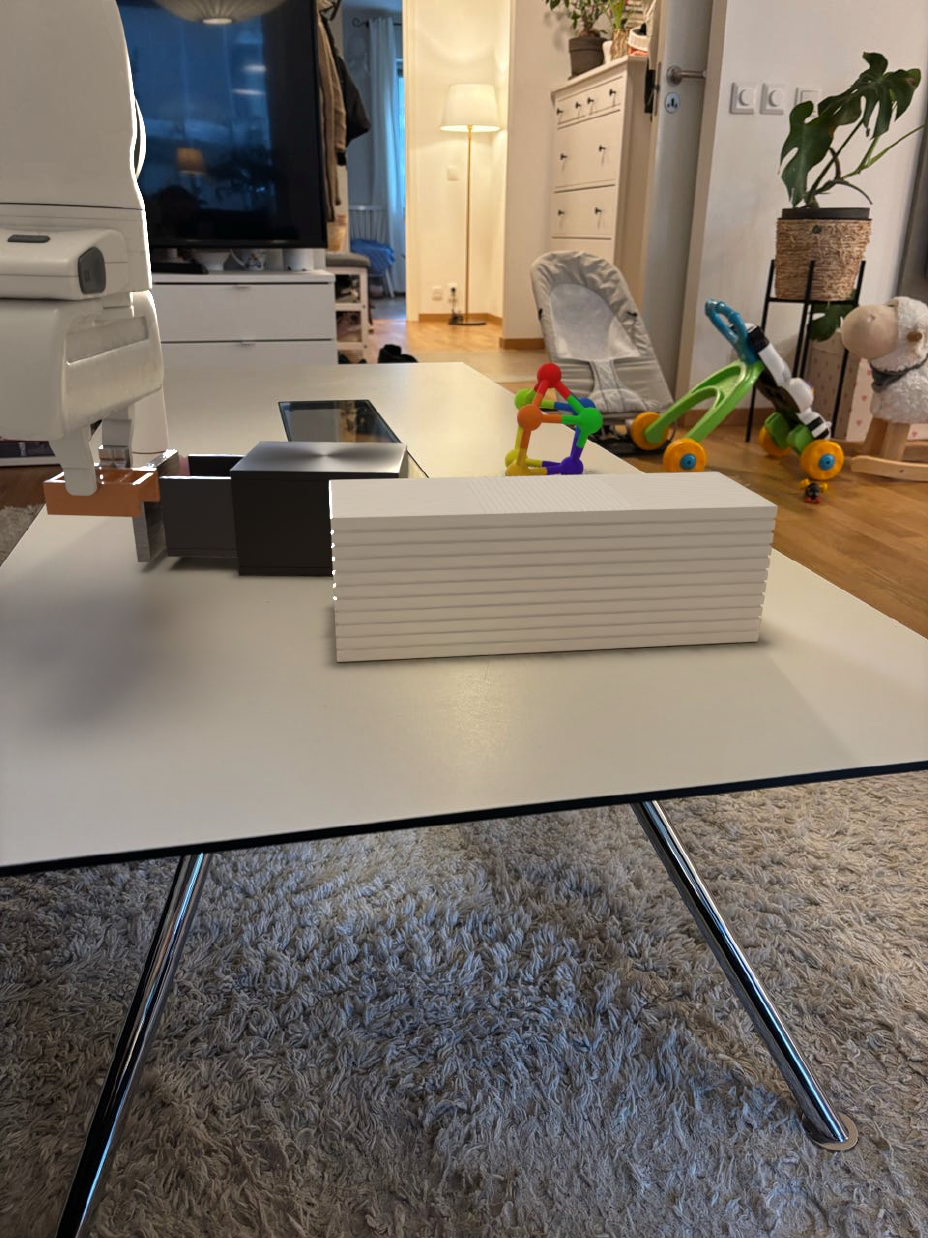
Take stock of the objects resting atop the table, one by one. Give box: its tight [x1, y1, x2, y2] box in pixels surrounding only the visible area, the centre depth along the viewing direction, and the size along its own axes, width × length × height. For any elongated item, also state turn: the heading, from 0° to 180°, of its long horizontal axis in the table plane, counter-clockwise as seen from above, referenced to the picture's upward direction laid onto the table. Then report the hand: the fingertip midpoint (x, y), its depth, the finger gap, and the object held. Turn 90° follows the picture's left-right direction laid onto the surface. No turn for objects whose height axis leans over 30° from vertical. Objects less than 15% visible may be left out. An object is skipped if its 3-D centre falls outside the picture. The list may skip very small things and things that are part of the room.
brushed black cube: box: [230, 440, 408, 577], centre depth 86 cm, size 15×13×10 cm
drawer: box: [131, 449, 246, 563], centre depth 86 cm, size 15×11×8 cm
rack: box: [42, 467, 160, 518], centre depth 61 cm, size 6×4×2 cm
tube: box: [131, 386, 170, 468], centre depth 103 cm, size 4×4×15 cm
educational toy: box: [504, 362, 604, 476], centre depth 115 cm, size 16×13×15 cm
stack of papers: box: [329, 471, 779, 663], centre depth 70 cm, size 32×11×11 cm, turn 98°
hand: (101, 482), depth 61 cm, fingers closed on rack, 4 cm apart
